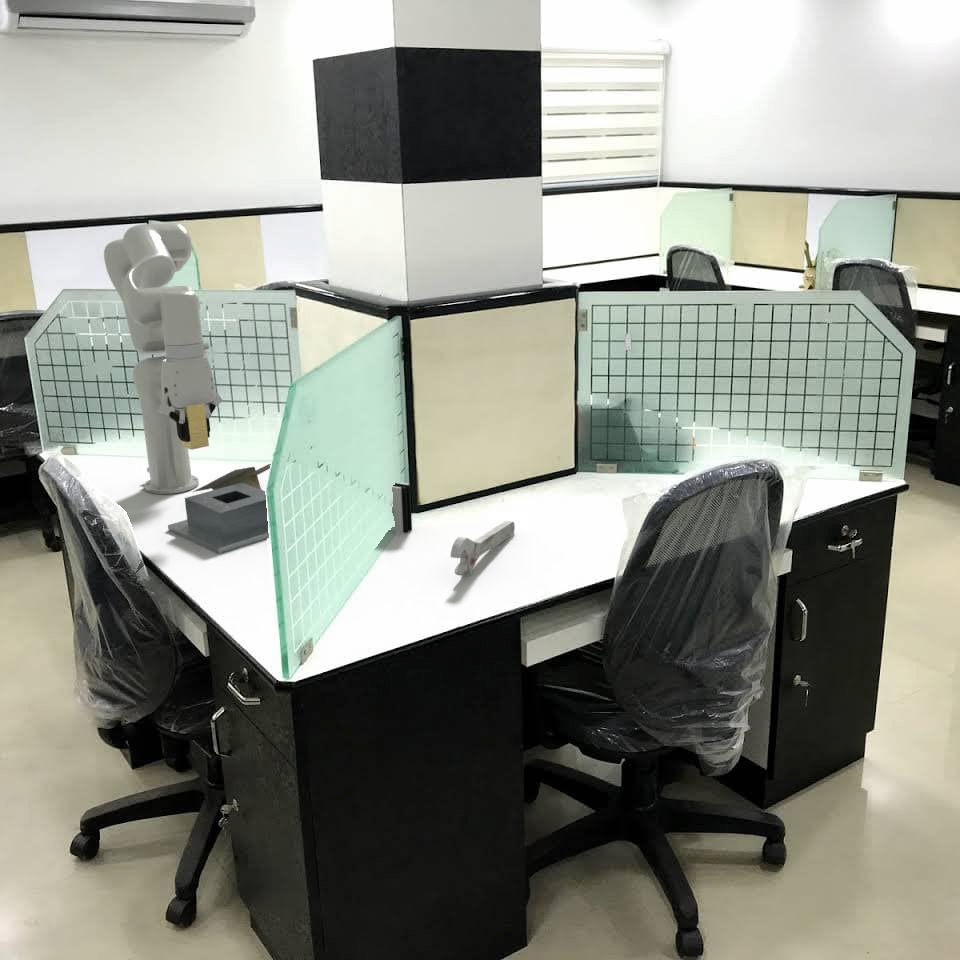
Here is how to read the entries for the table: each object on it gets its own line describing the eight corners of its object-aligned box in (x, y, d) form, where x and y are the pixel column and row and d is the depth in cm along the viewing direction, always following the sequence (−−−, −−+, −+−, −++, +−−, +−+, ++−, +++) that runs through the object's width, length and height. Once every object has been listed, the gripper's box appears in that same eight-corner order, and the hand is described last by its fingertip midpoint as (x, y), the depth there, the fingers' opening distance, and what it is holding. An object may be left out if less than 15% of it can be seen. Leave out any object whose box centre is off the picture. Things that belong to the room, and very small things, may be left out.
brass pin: (182, 446, 209) (176, 399, 207) (199, 442, 212) (194, 396, 209) (191, 449, 207) (186, 402, 204) (209, 445, 209) (203, 399, 206)
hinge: (346, 529, 212) (343, 484, 209) (356, 520, 217) (353, 476, 214) (408, 534, 208) (406, 488, 205) (416, 525, 213) (414, 480, 210)
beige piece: (206, 523, 228) (243, 488, 221) (189, 491, 230) (225, 455, 223) (257, 513, 242) (294, 479, 235) (241, 483, 244) (276, 449, 237)
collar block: (168, 530, 213) (164, 498, 211) (248, 506, 227) (245, 476, 224) (219, 553, 200) (215, 520, 198) (300, 527, 213) (298, 495, 211)
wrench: (514, 546, 209) (458, 585, 181) (506, 545, 209) (449, 584, 182) (515, 508, 207) (459, 542, 180) (507, 508, 208) (450, 541, 181)
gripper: (212, 344, 212) (221, 428, 217) (137, 355, 201) (149, 443, 206) (230, 348, 207) (239, 433, 212) (155, 359, 196) (166, 449, 201)
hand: (194, 437), depth 209 cm, fingers closed on brass pin, 4 cm apart
